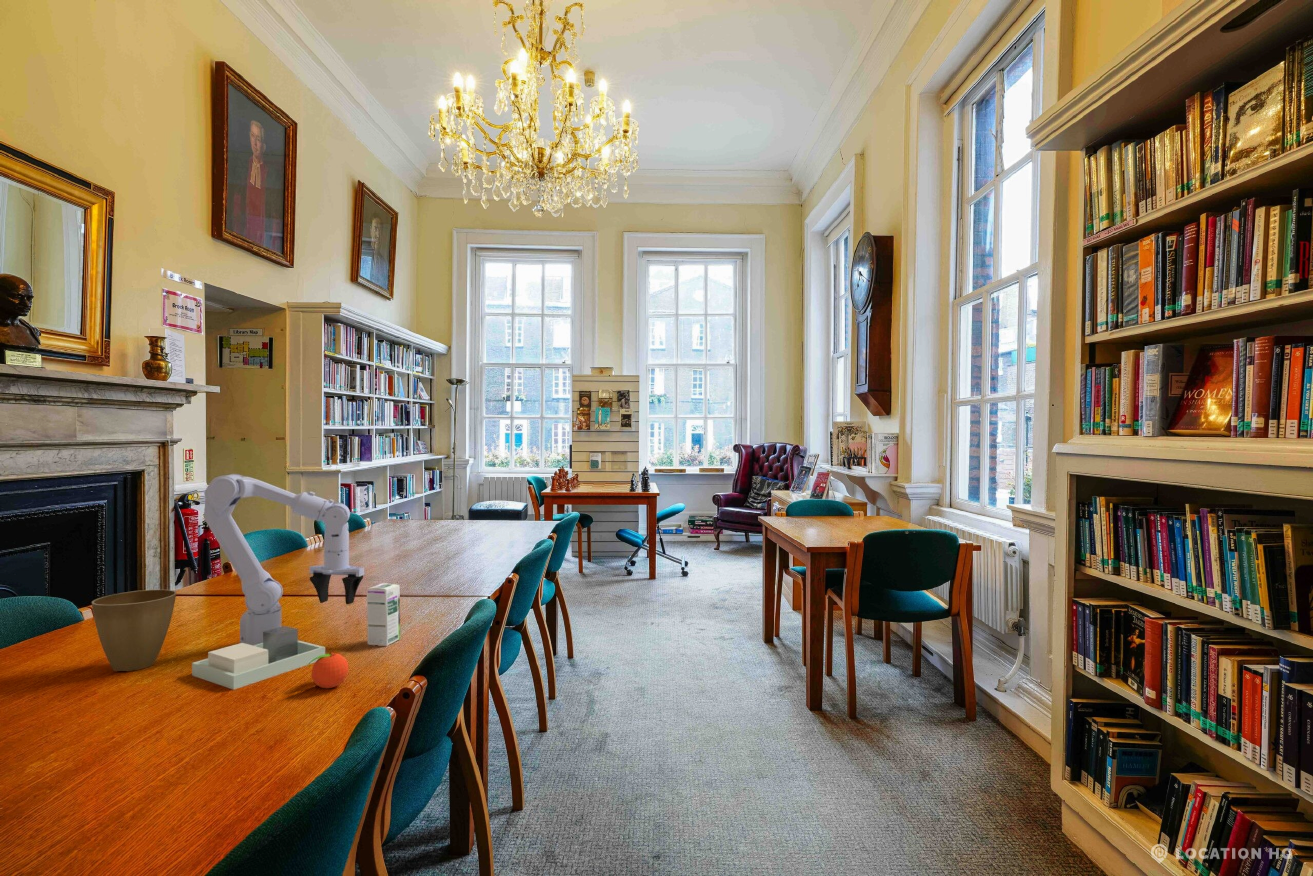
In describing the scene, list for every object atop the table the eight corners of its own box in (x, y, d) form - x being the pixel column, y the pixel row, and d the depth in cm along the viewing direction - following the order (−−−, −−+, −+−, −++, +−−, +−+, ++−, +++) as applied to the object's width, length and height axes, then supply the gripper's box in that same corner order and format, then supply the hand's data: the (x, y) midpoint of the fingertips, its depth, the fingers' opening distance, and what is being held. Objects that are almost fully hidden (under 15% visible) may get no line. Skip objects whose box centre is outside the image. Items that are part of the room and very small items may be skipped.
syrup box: (387, 646, 156) (387, 588, 156) (366, 645, 158) (366, 587, 158) (400, 639, 162) (400, 583, 162) (380, 638, 163) (380, 582, 163)
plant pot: (158, 674, 138) (158, 602, 138) (76, 681, 134) (75, 607, 134) (187, 652, 152) (187, 586, 152) (114, 658, 148) (114, 590, 148)
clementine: (304, 697, 126) (304, 662, 126) (306, 685, 132) (306, 651, 132) (348, 690, 130) (348, 655, 130) (348, 678, 136) (348, 645, 136)
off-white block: (208, 675, 136) (208, 652, 136) (242, 664, 142) (242, 642, 142) (234, 683, 131) (234, 660, 131) (268, 672, 137) (268, 649, 137)
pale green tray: (192, 679, 136) (192, 662, 136) (283, 651, 153) (283, 636, 153) (233, 693, 128) (233, 676, 128) (325, 662, 146) (325, 647, 146)
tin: (263, 662, 143) (263, 631, 143) (284, 655, 148) (284, 625, 148) (276, 666, 141) (276, 635, 141) (297, 659, 146) (297, 629, 146)
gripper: (300, 552, 160) (300, 605, 160) (351, 554, 157) (351, 608, 157) (320, 547, 167) (320, 598, 167) (369, 549, 164) (369, 600, 164)
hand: (336, 602), depth 162 cm, fingers open, 7 cm apart
